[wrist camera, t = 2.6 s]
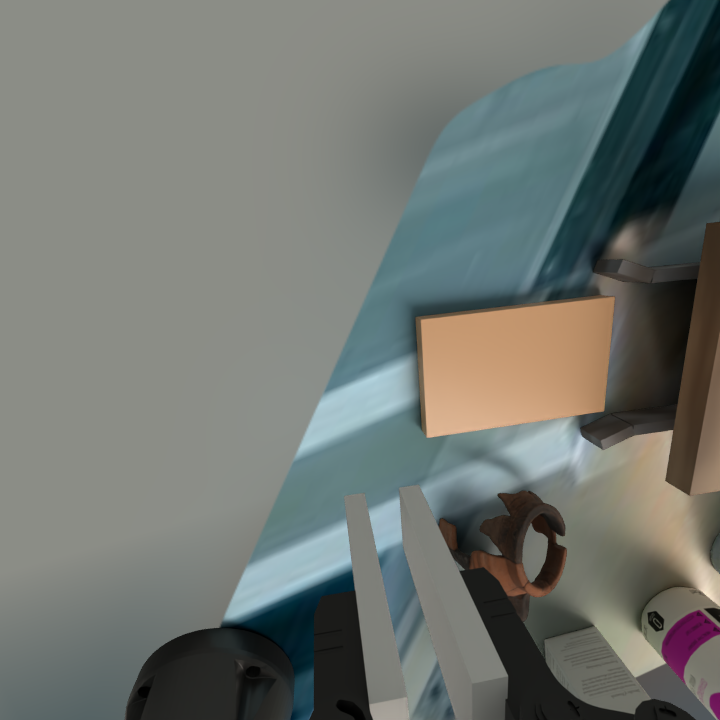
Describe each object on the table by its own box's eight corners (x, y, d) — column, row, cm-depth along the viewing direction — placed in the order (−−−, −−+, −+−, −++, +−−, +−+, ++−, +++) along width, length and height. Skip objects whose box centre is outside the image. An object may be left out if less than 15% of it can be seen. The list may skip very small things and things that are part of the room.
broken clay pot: (425, 491, 34) (500, 518, 27) (490, 462, 39) (568, 478, 32) (444, 616, 34) (524, 676, 27) (507, 571, 39) (588, 612, 32)
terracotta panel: (420, 427, 32) (426, 437, 30) (413, 316, 29) (420, 319, 27) (587, 402, 33) (604, 411, 31) (596, 294, 31) (615, 296, 29)
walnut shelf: (577, 456, 34) (642, 503, 27) (596, 234, 29) (682, 224, 22) (737, 432, 35) (836, 471, 29) (783, 217, 30) (917, 204, 23)
